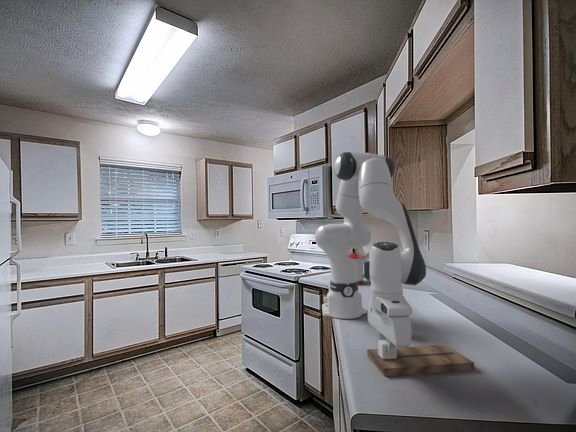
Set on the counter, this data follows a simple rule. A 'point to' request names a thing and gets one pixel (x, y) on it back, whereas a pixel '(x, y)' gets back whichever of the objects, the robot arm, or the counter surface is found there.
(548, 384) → the counter surface
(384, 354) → the fader tab
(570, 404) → the counter surface
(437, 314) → the counter surface
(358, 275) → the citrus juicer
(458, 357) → the fader board
